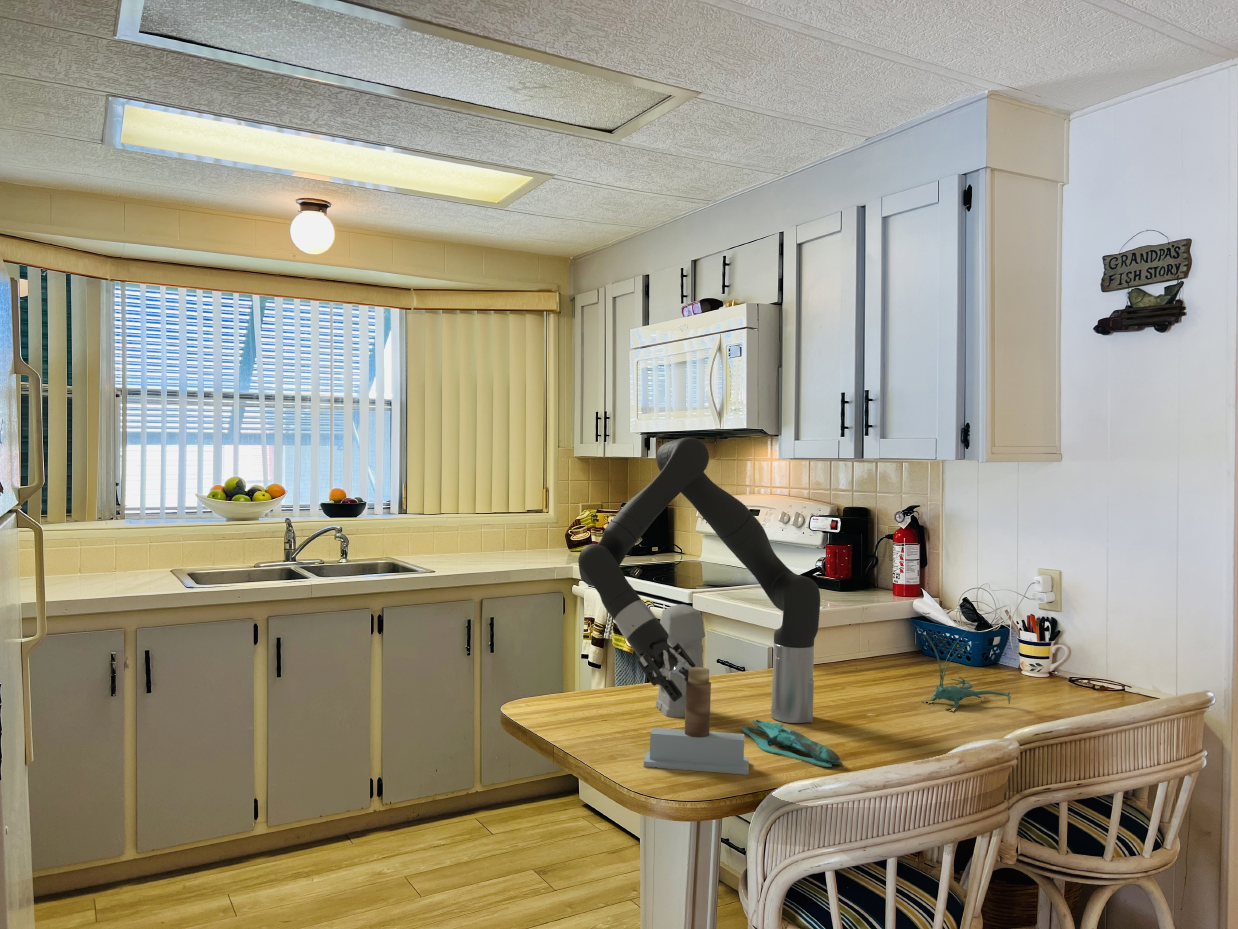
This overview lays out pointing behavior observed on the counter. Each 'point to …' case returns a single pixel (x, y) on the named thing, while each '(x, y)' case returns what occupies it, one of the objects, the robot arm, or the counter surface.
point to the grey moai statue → (688, 633)
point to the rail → (697, 751)
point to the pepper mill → (697, 703)
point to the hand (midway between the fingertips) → (689, 694)
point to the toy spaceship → (792, 744)
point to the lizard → (957, 687)
